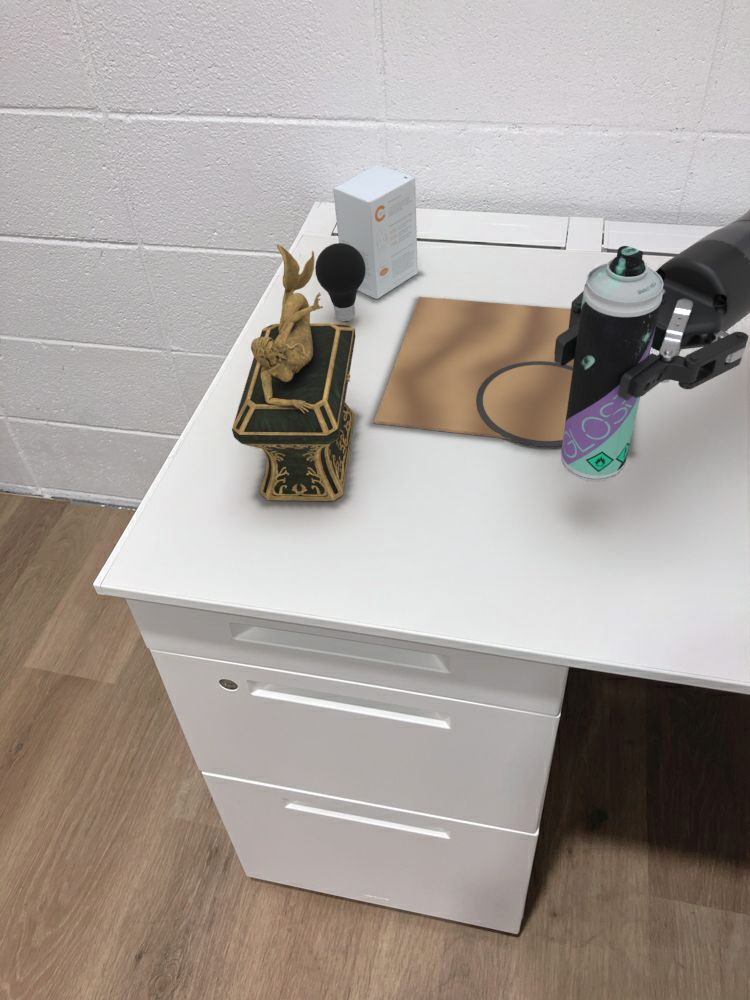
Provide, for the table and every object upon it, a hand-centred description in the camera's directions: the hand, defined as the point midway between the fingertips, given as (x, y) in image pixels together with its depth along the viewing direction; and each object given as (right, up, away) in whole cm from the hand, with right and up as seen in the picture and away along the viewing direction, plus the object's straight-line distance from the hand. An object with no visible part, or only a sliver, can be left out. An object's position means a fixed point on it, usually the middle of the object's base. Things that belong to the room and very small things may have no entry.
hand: (590, 371), depth 61 cm
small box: (-16, +19, +44) cm, 50 cm away
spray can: (+3, -6, +9) cm, 11 cm away
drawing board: (-1, +5, +29) cm, 30 cm away
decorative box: (-23, -4, +23) cm, 32 cm away
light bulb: (-20, +12, +38) cm, 44 cm away
